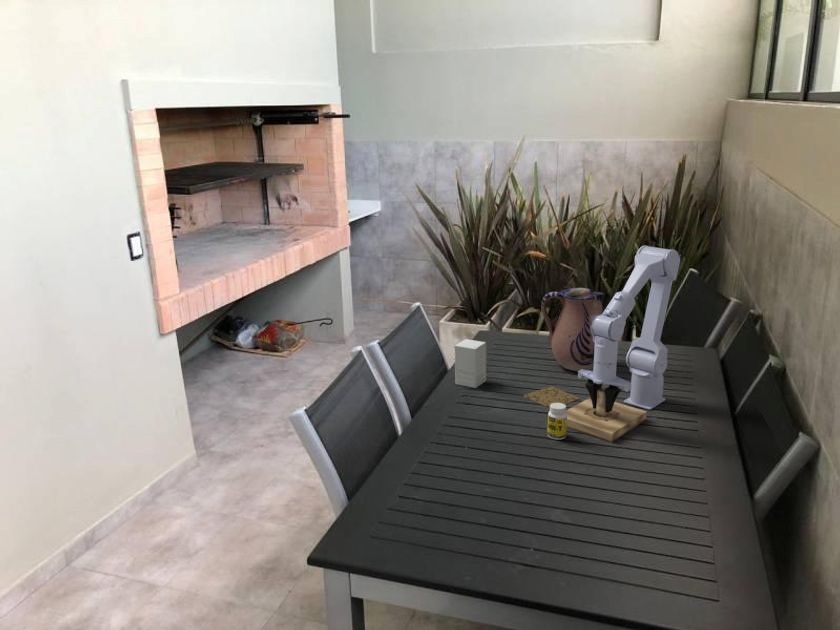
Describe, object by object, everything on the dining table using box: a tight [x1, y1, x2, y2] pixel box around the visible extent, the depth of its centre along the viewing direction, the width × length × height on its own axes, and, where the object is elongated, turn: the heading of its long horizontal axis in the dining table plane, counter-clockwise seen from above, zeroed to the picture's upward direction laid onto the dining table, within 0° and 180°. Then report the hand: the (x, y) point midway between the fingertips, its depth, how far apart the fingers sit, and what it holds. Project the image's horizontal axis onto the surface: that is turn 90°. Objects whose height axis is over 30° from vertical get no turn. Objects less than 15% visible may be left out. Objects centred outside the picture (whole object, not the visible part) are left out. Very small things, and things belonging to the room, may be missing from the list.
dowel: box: [596, 387, 608, 417], centre depth 180 cm, size 3×3×8 cm
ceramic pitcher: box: [541, 287, 605, 372], centre depth 218 cm, size 18×21×25 cm
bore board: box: [566, 396, 648, 443], centre depth 181 cm, size 18×16×2 cm
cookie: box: [523, 386, 582, 409], centre depth 198 cm, size 12×12×1 cm
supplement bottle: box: [546, 403, 568, 441], centre depth 173 cm, size 5×5×8 cm
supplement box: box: [454, 338, 487, 389], centre depth 209 cm, size 7×7×13 cm
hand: (602, 409), depth 181 cm, fingers closed on dowel, 3 cm apart
